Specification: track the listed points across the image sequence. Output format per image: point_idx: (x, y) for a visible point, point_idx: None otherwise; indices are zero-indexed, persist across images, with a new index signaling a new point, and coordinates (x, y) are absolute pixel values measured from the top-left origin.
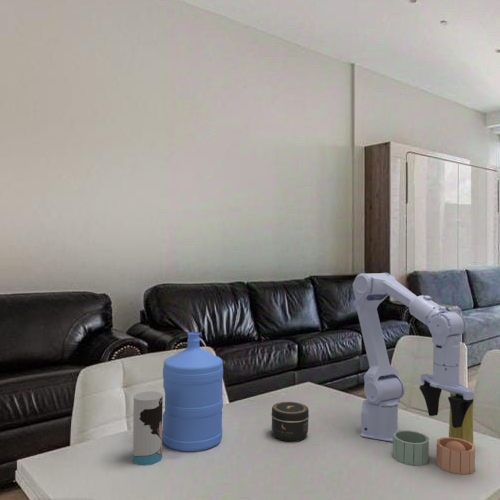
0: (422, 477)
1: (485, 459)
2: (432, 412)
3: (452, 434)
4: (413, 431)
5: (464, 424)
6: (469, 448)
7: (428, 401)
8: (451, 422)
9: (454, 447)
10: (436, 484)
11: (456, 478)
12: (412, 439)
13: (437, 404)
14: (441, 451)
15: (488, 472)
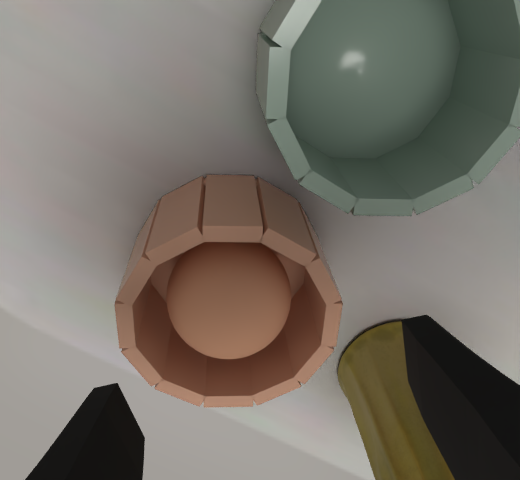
0: (98, 4)
1: (271, 402)
2: (415, 360)
3: None
4: (489, 162)
5: (389, 477)
6: (228, 376)
7: (481, 421)
8: None
9: (191, 300)
10: (13, 48)
11: (92, 196)
12: (458, 135)
13: (456, 472)
14: (203, 214)
15: None
